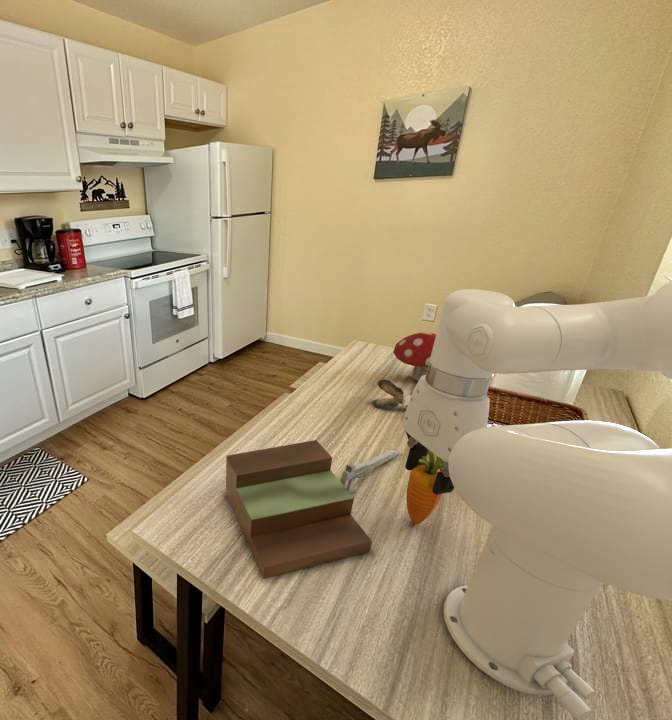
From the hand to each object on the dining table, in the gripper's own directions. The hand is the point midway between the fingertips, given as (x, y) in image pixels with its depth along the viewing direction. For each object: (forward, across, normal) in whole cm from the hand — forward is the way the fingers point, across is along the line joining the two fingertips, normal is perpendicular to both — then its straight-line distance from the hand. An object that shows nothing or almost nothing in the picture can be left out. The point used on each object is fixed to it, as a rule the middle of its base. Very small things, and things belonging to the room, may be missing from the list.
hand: (427, 478), depth 61 cm
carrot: (+10, 0, 0) cm, 10 cm away
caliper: (+10, -13, +1) cm, 16 cm away
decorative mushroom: (+10, -44, +40) cm, 60 cm away
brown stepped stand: (+10, -6, -20) cm, 23 cm away
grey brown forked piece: (+10, -34, +23) cm, 42 cm away
